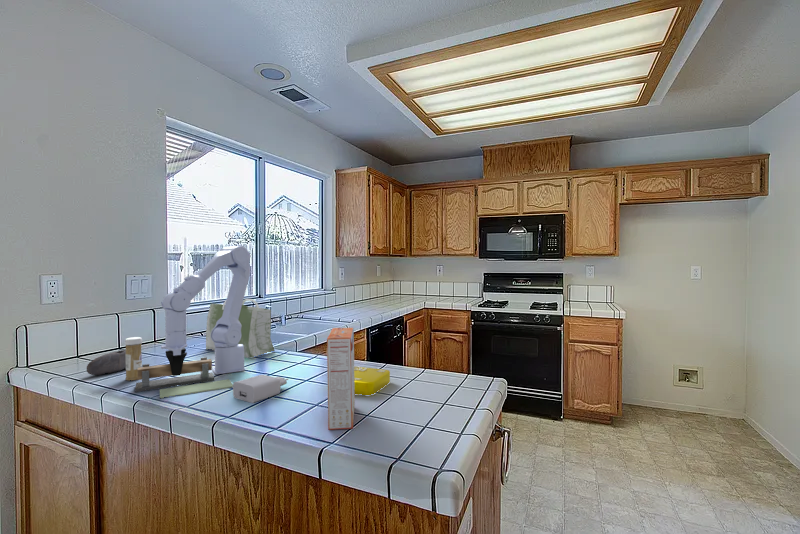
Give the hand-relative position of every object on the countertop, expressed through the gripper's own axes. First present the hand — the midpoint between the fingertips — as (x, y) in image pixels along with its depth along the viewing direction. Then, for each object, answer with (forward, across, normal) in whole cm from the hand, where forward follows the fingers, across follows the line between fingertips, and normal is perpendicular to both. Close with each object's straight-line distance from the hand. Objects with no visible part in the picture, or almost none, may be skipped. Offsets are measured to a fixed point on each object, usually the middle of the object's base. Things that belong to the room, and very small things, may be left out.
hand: (176, 373), depth 121 cm
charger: (+3, +25, +22) cm, 33 cm away
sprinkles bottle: (+3, -13, -12) cm, 18 cm away
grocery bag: (+3, -39, +26) cm, 47 cm away
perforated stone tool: (+3, -27, -18) cm, 33 cm away
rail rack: (+3, 0, 0) cm, 3 cm away
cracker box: (+3, +54, +32) cm, 63 cm away
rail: (0, 0, 0) cm, 0 cm away
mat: (+3, +10, +5) cm, 12 cm away
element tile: (+4, +34, +47) cm, 59 cm away
